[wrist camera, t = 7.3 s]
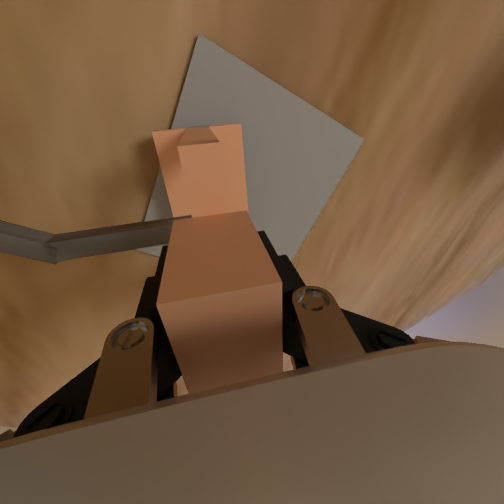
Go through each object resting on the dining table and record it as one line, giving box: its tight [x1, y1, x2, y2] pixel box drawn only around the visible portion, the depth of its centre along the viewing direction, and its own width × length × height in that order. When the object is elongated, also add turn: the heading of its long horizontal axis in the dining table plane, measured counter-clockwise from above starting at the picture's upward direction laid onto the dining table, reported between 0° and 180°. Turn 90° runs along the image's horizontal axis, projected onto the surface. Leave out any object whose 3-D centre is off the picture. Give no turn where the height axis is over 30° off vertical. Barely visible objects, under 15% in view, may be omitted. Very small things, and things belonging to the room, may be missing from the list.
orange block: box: [152, 123, 283, 394], centre depth 14 cm, size 10×6×15 cm, turn 4°
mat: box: [136, 34, 364, 261], centre depth 22 cm, size 17×15×1 cm
